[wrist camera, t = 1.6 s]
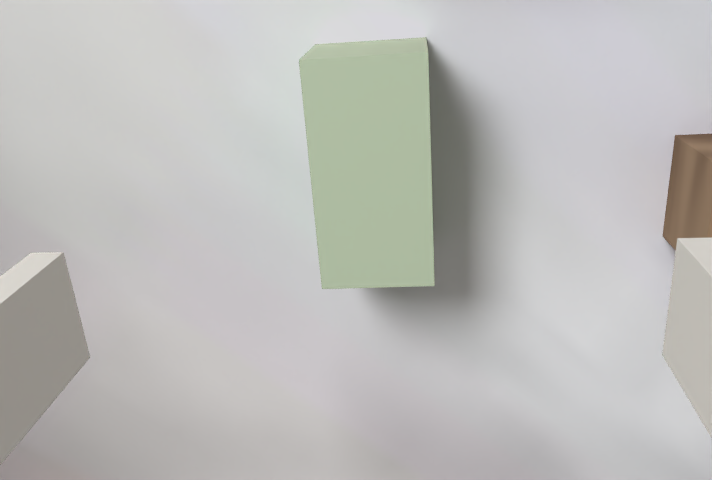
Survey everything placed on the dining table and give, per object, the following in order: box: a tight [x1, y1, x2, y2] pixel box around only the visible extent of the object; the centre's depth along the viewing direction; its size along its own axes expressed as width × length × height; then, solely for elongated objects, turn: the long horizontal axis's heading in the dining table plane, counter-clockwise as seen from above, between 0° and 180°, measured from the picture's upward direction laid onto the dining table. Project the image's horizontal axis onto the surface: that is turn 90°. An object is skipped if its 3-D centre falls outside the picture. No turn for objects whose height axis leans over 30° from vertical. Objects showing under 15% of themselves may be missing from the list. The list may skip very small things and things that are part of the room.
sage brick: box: [299, 37, 435, 289], centre depth 24 cm, size 8×4×4 cm, turn 4°
